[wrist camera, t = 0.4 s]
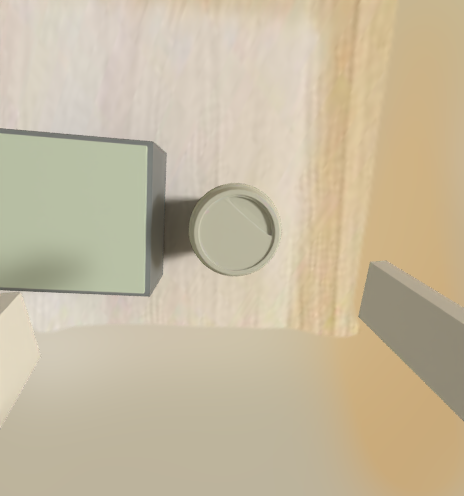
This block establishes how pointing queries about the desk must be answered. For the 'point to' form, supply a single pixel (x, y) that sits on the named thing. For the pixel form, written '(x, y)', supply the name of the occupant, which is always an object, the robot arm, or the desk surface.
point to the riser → (80, 213)
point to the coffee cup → (235, 229)
